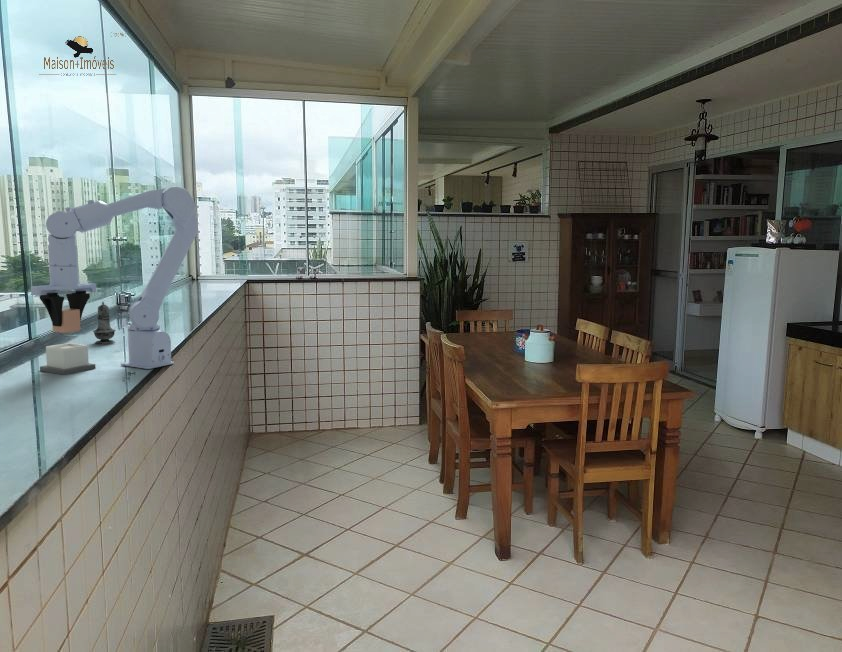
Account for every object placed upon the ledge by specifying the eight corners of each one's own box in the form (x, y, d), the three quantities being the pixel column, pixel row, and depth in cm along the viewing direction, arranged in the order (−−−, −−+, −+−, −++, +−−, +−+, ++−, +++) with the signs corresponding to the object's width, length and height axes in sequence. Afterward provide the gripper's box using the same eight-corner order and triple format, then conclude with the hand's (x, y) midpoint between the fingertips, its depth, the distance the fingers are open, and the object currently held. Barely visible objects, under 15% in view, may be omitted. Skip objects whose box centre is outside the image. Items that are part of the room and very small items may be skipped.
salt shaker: (120, 341, 181) (118, 301, 179) (108, 344, 175) (106, 303, 173) (101, 340, 181) (99, 300, 180) (88, 344, 175) (86, 302, 174)
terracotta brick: (80, 330, 142) (79, 309, 142) (64, 332, 139) (63, 311, 138) (69, 329, 144) (67, 308, 143) (52, 331, 140) (51, 309, 140)
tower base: (95, 368, 144) (94, 344, 143) (63, 374, 137) (62, 350, 136) (72, 364, 147) (71, 341, 147) (40, 370, 140) (38, 346, 139)
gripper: (80, 264, 147) (83, 320, 149) (20, 265, 134) (24, 327, 136) (101, 265, 145) (103, 322, 146) (41, 267, 131) (45, 329, 133)
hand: (66, 324), depth 141 cm, fingers closed on terracotta brick, 4 cm apart
